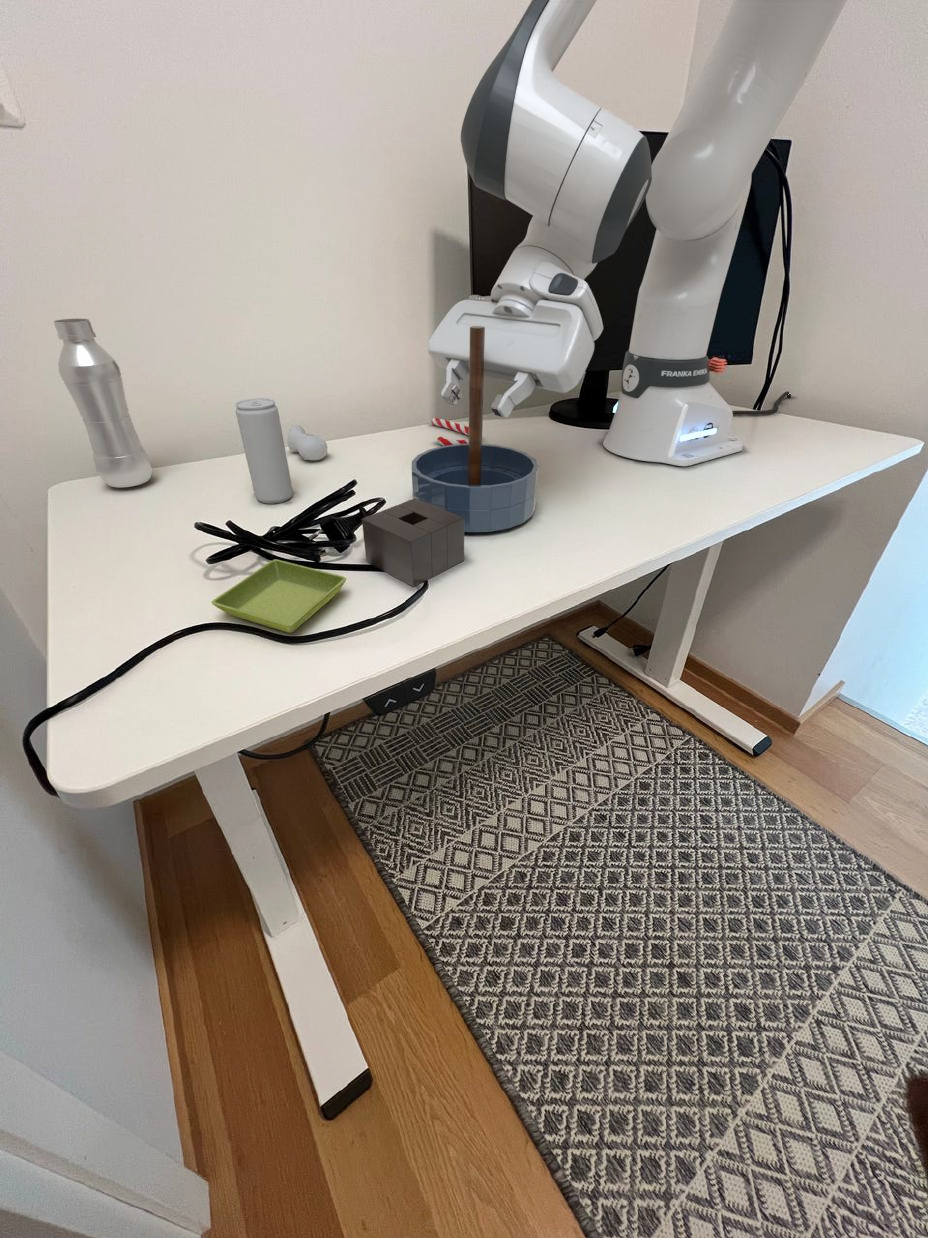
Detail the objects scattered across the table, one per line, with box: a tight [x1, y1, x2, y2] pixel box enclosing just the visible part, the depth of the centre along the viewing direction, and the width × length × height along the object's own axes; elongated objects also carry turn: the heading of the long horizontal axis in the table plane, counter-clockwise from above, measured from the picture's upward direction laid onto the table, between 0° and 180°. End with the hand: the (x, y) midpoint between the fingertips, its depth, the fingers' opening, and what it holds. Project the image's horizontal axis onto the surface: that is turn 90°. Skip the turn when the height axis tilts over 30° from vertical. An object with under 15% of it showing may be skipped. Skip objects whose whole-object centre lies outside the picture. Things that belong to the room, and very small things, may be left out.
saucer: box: [211, 558, 347, 634], centre depth 50 cm, size 9×9×2 cm
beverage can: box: [234, 397, 294, 505], centre depth 68 cm, size 5×5×12 cm
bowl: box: [411, 443, 540, 533], centre depth 67 cm, size 15×15×6 cm
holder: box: [361, 498, 465, 588], centre depth 56 cm, size 7×7×5 cm
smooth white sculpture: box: [286, 424, 329, 461], centre depth 84 cm, size 4×8×5 cm
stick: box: [468, 326, 485, 486], centre depth 63 cm, size 2×2×20 cm
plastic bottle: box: [53, 318, 153, 488], centre depth 69 cm, size 6×7×20 cm
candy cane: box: [431, 417, 469, 447], centre depth 94 cm, size 8×1×15 cm
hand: (472, 407), depth 61 cm, fingers open, 6 cm apart
